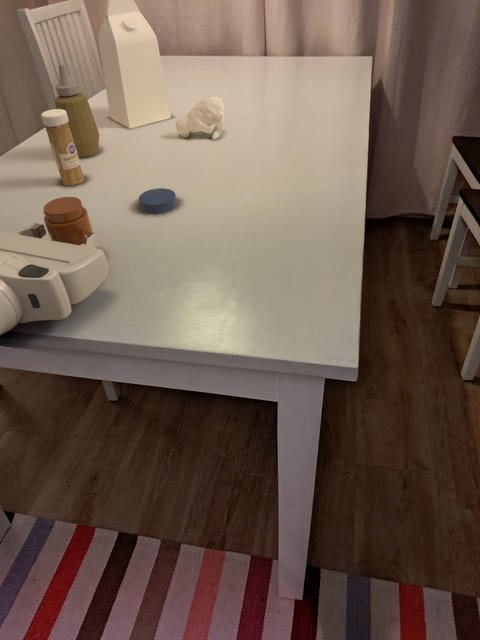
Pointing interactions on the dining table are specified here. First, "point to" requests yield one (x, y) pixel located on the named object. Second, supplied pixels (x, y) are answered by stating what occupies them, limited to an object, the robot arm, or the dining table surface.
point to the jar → (67, 220)
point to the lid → (157, 200)
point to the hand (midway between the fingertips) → (68, 232)
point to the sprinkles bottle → (63, 146)
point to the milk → (132, 66)
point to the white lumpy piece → (203, 117)
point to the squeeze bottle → (77, 115)
